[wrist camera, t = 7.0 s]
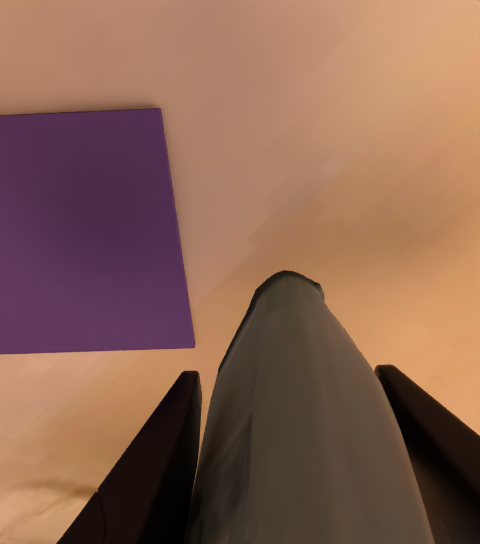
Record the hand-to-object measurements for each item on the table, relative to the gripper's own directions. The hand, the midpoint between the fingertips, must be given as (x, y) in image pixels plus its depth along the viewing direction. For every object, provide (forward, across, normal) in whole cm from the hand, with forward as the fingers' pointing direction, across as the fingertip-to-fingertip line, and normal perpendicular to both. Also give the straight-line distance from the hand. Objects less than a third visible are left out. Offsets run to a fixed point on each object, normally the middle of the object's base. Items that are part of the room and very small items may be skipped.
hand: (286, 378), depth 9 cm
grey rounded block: (+2, 0, 0) cm, 2 cm away
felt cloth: (+8, +13, 0) cm, 15 cm away
